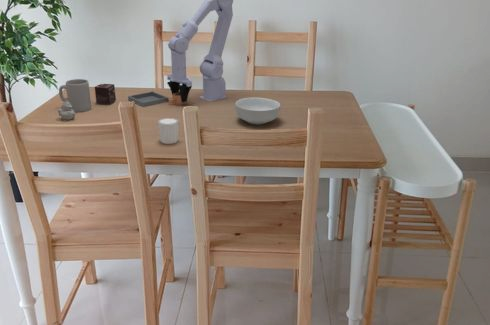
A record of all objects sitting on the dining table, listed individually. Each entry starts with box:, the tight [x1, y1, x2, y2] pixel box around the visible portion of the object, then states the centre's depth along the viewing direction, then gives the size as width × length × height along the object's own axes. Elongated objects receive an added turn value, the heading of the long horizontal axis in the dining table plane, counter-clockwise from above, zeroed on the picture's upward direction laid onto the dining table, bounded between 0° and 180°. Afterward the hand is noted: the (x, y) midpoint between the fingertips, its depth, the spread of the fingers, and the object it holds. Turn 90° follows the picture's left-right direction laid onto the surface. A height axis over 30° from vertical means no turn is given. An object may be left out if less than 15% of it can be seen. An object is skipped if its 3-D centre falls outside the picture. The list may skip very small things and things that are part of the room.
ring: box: [168, 93, 187, 106], centre depth 196 cm, size 8×5×4 cm
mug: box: [58, 78, 92, 113], centre depth 187 cm, size 12×8×11 cm
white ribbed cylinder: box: [157, 117, 180, 145], centre depth 158 cm, size 7×7×7 cm
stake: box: [167, 90, 194, 107], centre depth 197 cm, size 8×8×5 cm
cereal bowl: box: [234, 96, 281, 125], centre depth 179 cm, size 17×17×7 cm
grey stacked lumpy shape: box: [57, 99, 76, 121], centre depth 176 cm, size 5×7×8 cm
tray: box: [127, 91, 170, 108], centre depth 199 cm, size 12×12×2 cm
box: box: [94, 83, 117, 106], centre depth 196 cm, size 6×6×7 cm
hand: (180, 100), depth 197 cm, fingers closed on ring, 5 cm apart
